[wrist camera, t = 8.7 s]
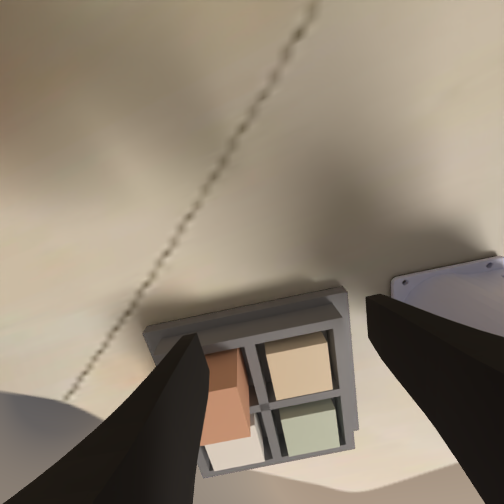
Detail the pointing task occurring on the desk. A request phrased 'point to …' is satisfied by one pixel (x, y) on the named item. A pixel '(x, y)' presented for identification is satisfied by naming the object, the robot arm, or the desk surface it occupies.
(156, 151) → the desk surface
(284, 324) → the frame board
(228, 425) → the terracotta block
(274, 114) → the desk surface
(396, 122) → the desk surface
